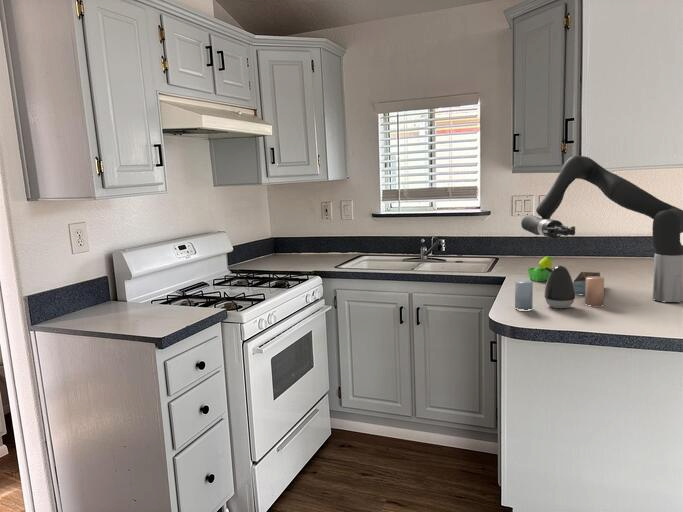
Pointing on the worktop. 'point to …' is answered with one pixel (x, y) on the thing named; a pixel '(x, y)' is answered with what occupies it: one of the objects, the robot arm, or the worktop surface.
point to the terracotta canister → (594, 291)
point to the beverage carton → (583, 281)
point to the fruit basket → (541, 270)
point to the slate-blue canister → (524, 294)
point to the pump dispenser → (559, 288)
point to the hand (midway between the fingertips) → (570, 232)
